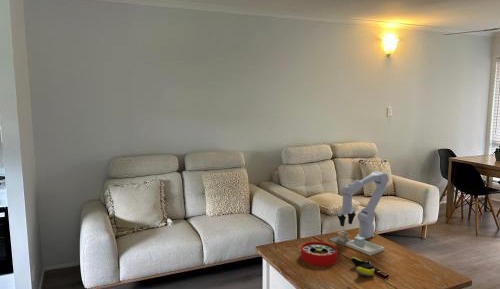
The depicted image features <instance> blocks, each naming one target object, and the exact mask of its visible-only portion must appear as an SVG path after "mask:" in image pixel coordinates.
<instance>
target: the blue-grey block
mask: <svg viewBox="0 0 500 289" xmlns="http://www.w3.org/2000/svg"><path fill="white" fill-rule="evenodd" d="M353 240H354V245H355V246H358V247H363V246H364V245H365V240H366V239H365V238H363V237H360V236H357V235H356V236H355V237H353Z"/></svg>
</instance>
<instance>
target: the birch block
mask: <svg viewBox="0 0 500 289" xmlns="http://www.w3.org/2000/svg"><path fill="white" fill-rule="evenodd" d="M337 236H338V240H339V241H341V242H345V241H348V238H349V232H347V231H345V230H342V231H337Z"/></svg>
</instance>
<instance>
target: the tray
mask: <svg viewBox="0 0 500 289" xmlns="http://www.w3.org/2000/svg"><path fill="white" fill-rule="evenodd" d="M345 246H346V247H348V248H350V249H353V250H356V251H358V252H361V253H363V254H366V255H367V256H370V257H371V256H373V255H376V254H379V253H381V252H383V251H385V247H384V246H381V245H379V244H376V243H374V242H371V241H368V240H366V239H365V245H364V246H363V247H358V246H355V245H354V239H352V240H351V241H348V242H346V245H345Z"/></svg>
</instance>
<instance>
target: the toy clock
mask: <svg viewBox="0 0 500 289" xmlns="http://www.w3.org/2000/svg"><path fill="white" fill-rule="evenodd" d="M300 247H301V248H300V258H301V260H302V261H303V262H304V263H306V264H308V265H309V264H310V265H313V266H319V267H323V266H324V267H325V266H332V265H333V264H335V263H336V262H337V258H338V249H337V247H336V246H334V245H333V244H331V243H327V242H321V241H309V242H304V243H303V244H302V245H301V246H300Z"/></svg>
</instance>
